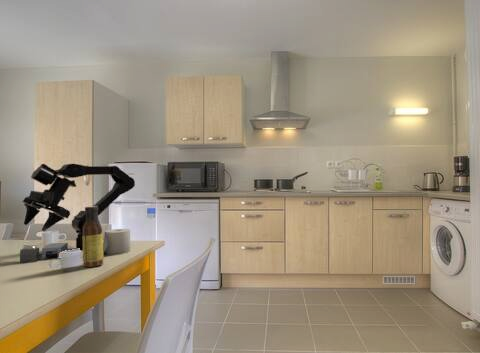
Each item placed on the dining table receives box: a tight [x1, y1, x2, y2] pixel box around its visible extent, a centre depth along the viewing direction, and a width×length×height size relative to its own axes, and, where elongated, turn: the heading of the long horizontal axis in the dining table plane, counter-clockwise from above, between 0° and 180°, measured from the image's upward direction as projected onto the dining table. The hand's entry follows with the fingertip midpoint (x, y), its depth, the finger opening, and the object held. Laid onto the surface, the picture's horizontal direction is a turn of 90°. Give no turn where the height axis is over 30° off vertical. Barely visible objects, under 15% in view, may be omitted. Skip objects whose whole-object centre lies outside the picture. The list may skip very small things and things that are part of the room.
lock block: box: [41, 242, 69, 261], centre depth 118 cm, size 6×9×4 cm
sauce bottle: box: [82, 205, 104, 268], centre depth 104 cm, size 6×6×20 cm
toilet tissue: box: [103, 228, 131, 256], centre depth 122 cm, size 9×13×9 cm
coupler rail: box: [19, 245, 42, 264], centre depth 115 cm, size 5×14×5 cm, turn 15°
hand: (33, 227), depth 116 cm, fingers open, 9 cm apart
